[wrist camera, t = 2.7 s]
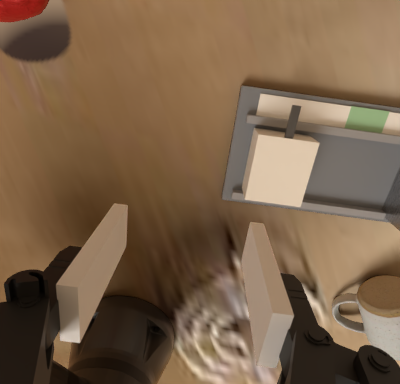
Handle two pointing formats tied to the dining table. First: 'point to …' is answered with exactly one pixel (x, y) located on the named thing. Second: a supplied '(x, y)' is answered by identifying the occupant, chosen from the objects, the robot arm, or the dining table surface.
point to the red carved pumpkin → (20, 9)
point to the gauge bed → (324, 149)
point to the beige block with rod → (279, 164)
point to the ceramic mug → (375, 312)
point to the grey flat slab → (393, 203)
